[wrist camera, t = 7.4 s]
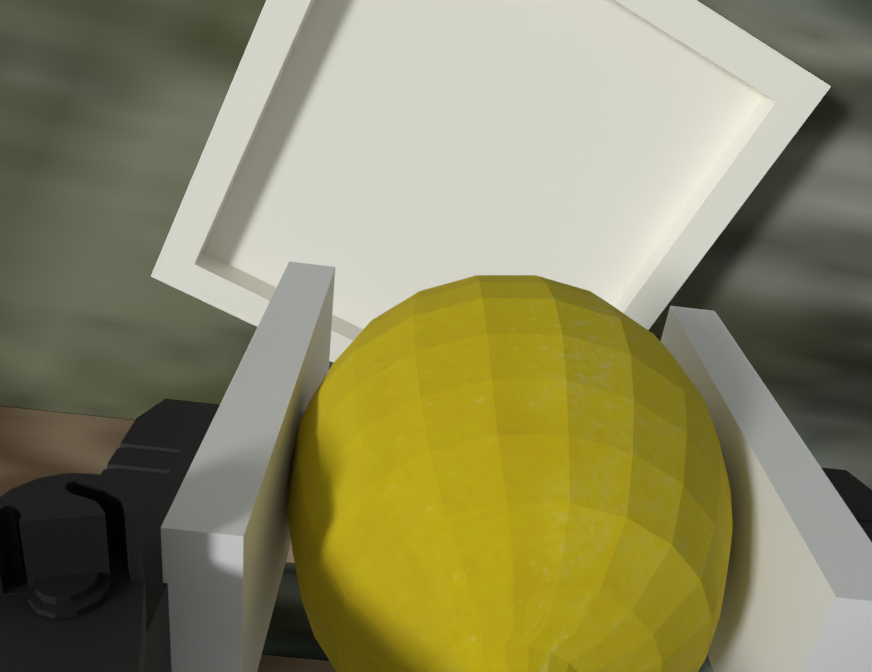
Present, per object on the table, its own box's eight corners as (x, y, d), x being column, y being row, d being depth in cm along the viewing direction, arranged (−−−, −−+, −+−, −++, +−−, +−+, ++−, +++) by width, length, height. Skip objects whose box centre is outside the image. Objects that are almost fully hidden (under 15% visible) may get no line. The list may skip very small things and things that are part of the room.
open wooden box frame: (9, 644, 34) (-63, 764, 29) (-31, 402, 29) (-129, 500, 24) (467, 687, 35) (471, 810, 30) (511, 459, 30) (524, 565, 25)
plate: (172, 250, 26) (150, 276, 24) (366, -205, 21) (357, -218, 19) (541, 427, 29) (547, 464, 27) (798, 72, 23) (831, 86, 21)
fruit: (516, 526, 16) (570, 1020, 9) (272, 381, 14) (96, 829, 7) (720, 320, 14) (1009, 749, 7) (457, 126, 12) (462, 405, 5)
